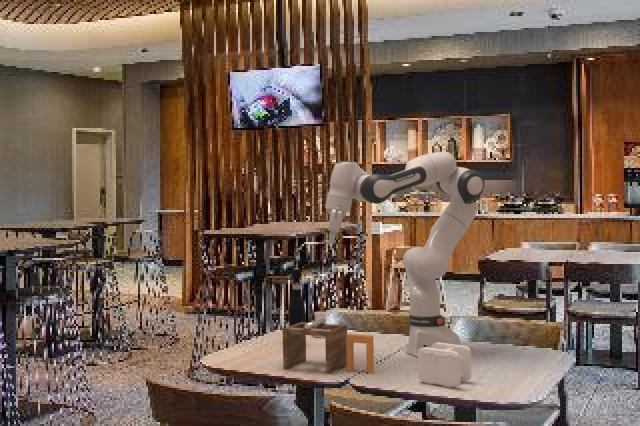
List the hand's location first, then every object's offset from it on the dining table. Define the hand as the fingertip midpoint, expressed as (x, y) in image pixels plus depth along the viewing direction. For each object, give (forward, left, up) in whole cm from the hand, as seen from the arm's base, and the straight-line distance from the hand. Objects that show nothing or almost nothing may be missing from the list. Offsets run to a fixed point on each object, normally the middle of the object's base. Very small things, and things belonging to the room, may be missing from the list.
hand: (330, 244), depth 287 cm
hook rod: (+4, +4, -28) cm, 29 cm away
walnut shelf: (+4, +4, -42) cm, 43 cm away
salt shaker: (+27, -45, -43) cm, 67 cm away
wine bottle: (+27, -25, -43) cm, 56 cm away
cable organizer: (-44, +7, -43) cm, 61 cm away
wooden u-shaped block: (-13, +4, -42) cm, 44 cm away
